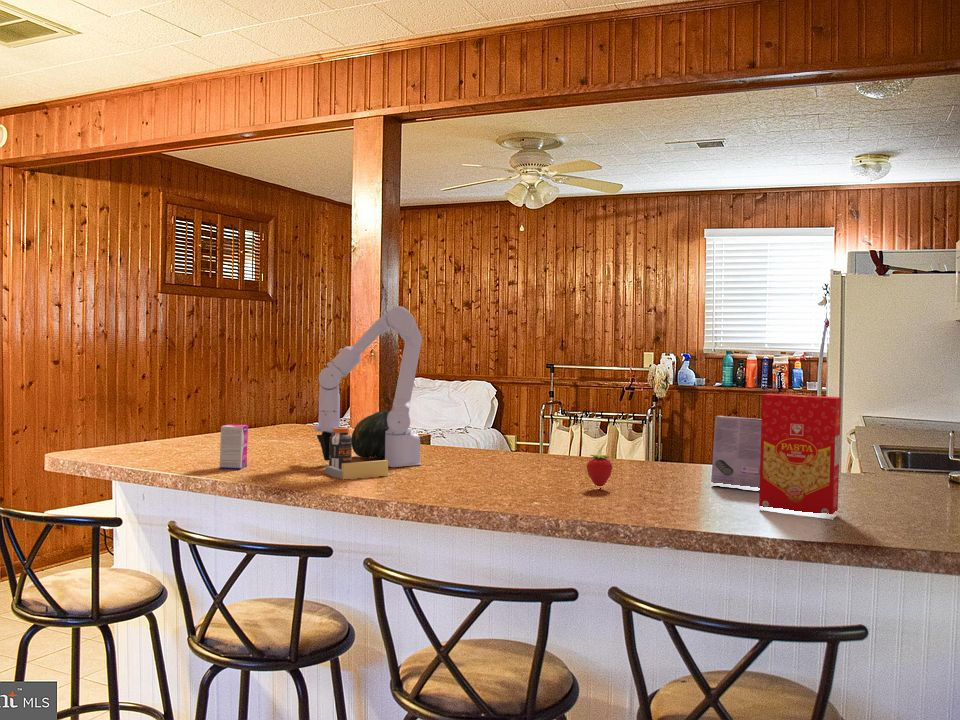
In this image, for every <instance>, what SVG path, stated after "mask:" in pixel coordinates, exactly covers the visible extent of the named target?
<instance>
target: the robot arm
mask: <svg viewBox="0 0 960 720" xmlns="http://www.w3.org/2000/svg"><path fill="white" fill-rule="evenodd" d="M391 328H392V329H393V330H394V331H396V332H397V333H398V334H399V336H400V337H401V339H402V340H403V342H404V346H403V352H402V357H401V363H400V367H399V372H398V377H397V383H396V388H395V393H394V397H393V398H394V399H393V402H392V406H391V409H390V410H389V411H388V412H389V413H388V415H387V424H388V427H389V429H388V430H387V431H385V459H384V460H388V468H389V467H390V468H398V467H413V466H421V465H422V462H421V439H420V436H419V434H418V433H416V432H412V430H410V429H409V428H410V425H411V419H410V418H411V417H410V408H411V399H412V394H413V390H414V385H415V380H416V379H415V378H416V373H417V369H418V363H419V357H420V353H421V348H422V342H423V337H422V334H421V332H420V329H419V327H418V325H417V323H416V320H415V318H414V315H412V314H411V312H410V311H409V310H408V309H407V308H405V307H404V306H400V305H399V306H397V305H396V306H393V307H392V308H391V309H390V310H388V313H385V314H383V315H382V316H381V317H379V318H378V319H377V320H375V322H373V324H372V325H371V326H369V328H368V329H367V330H366V331H365V332H364V333H363V334H362V336H361V337H360V338H359V339H358V340H357V341H356V342H355V343H354V344H353V345H351V346H345V347H343V348H342V347H341V348H340V349H338V352H337V353H338V354H337V355H336V356H335V357H334V358H333V359H332V360H331V361H328V362H327V363H326V364H325V365H326V367H324V368H323V369H321V372H320V373H319V375H318V383H319V384H320V385H319V387H318V389H319V390H318V391H319V394H318V424H317V423H316V424H315V427H314V431H315V432H320V433H321V434H317V435H316V438H317V440H318V443H319V444H320V448H321V451H322V456H323V459H324V461H327V462H329V442H330V436H332V435H333V434H334V433H333V428H334V427H341V425H340V424H341V423H340V422H341V421H340V419H341V417H340V416H341V415H340V414H341V412H340V411H341V407H340V406H341V402H340V401H341V394H340V383H341V381H342V378H346V377H347V376H348V375H349V373H351V371H353V369H355V368H356V366H357V365H358V364H359V363H360V362H361V361H362V359H361V358H362V357H361V354H362V353H363V352H365V351H366V349H367V348H368V347H369V346H370V345H372V343H373V342H374V341H376V340H377V338H379V336H381V335H382V334H384V333H388V332H390V331H391Z"/></svg>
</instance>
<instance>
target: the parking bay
mask: <svg viewBox="0 0 960 720" xmlns="http://www.w3.org/2000/svg"><path fill="white" fill-rule="evenodd" d="M325 473H326V475H328V474H329V475H328V476H331V475H332V476H331V477H333V476H334V478H336V477H337V479H339V478H340V479H339V480H342V479H343V480H342V481H345V480H344V479H351V480H358V479H357V478H362V479H369V478H368V477H373V478H380V477H379V476H384V477H388V476H389V466H388V460H385V459H382V460H369V461H356V462H355V461H354V462H351V463H342V470H341V469H338V468H336V467H333V466H329V465H325ZM325 473H324V474H325Z"/></svg>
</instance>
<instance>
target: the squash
mask: <svg viewBox="0 0 960 720" xmlns="http://www.w3.org/2000/svg"><path fill="white" fill-rule="evenodd" d="M389 412H390V411H388V410H380V411H377V412H375V413H373V414H371V415H368V416H366V417H364V418H362V419H361V420H360V421H359V422H358V423H356V426H355V427H354V429H353V431H352V434H351V437H352V450H353V452H354V454H355V455H356V456H358V457H359V458H362V459H369V458H377V459H378V458H380V459H382V460H385V431H387V430H388V429H389V427H388V424H387V415H388V413H389Z"/></svg>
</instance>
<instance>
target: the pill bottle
mask: <svg viewBox="0 0 960 720" xmlns="http://www.w3.org/2000/svg"><path fill="white" fill-rule="evenodd" d="M333 433H334V434H333V435H332V436H330V442H329V460H328V466H333V467H336V468H338V469H341V470H342V463H352V456H353V455H352V450H353V448H352V435H350V434H349V427H346V426H340V427H334V428H333Z"/></svg>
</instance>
